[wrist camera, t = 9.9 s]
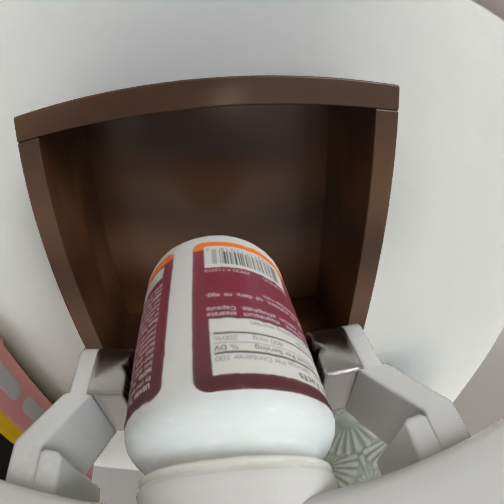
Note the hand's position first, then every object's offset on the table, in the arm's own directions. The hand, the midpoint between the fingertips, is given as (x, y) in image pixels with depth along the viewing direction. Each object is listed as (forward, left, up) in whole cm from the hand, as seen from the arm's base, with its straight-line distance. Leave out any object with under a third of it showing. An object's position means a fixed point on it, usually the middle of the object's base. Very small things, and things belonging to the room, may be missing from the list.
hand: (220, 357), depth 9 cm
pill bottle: (0, 0, -3) cm, 3 cm away
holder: (0, 0, -10) cm, 10 cm away
